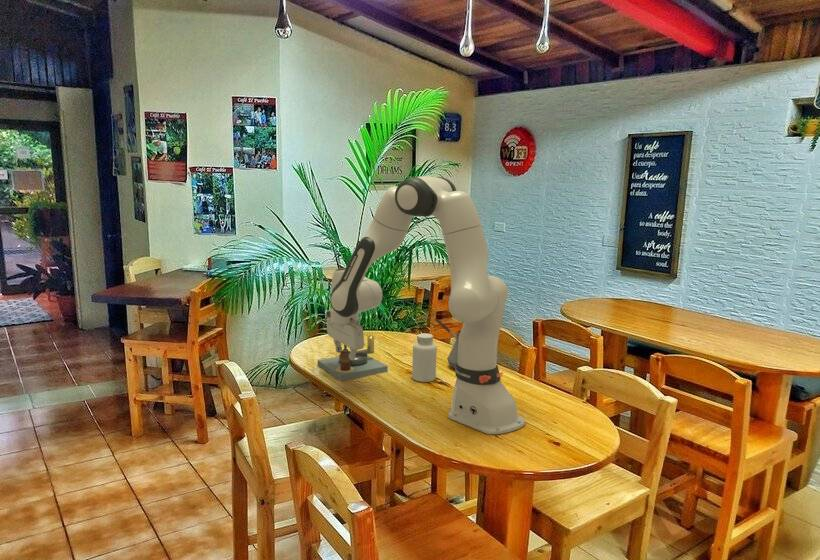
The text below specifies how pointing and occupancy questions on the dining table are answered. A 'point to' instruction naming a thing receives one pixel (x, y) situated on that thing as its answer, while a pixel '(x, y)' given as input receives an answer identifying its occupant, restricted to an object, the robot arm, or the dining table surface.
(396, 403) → the dining table surface
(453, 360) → the coffee pot
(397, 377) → the dining table surface
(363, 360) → the dial
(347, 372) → the board
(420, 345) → the pill bottle
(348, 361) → the brown bottle
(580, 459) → the dining table surface
